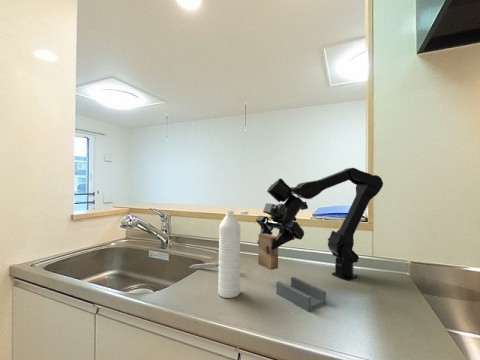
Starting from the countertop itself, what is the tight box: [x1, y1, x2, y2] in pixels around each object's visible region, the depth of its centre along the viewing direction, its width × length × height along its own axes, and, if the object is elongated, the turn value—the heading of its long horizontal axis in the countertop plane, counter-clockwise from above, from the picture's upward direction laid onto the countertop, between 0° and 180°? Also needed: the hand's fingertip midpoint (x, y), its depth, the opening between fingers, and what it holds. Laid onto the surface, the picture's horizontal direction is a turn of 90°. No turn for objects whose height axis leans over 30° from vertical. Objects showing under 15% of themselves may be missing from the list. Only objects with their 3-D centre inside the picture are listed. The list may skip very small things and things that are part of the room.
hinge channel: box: [275, 276, 327, 312], centre depth 68 cm, size 7×12×4 cm, turn 34°
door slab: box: [257, 233, 279, 271], centre depth 77 cm, size 4×6×10 cm, turn 34°
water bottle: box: [217, 210, 249, 299], centre depth 71 cm, size 9×6×25 cm
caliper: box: [188, 261, 219, 270], centre depth 89 cm, size 20×1×6 cm, turn 73°
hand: (264, 246), depth 76 cm, fingers closed on door slab, 6 cm apart
